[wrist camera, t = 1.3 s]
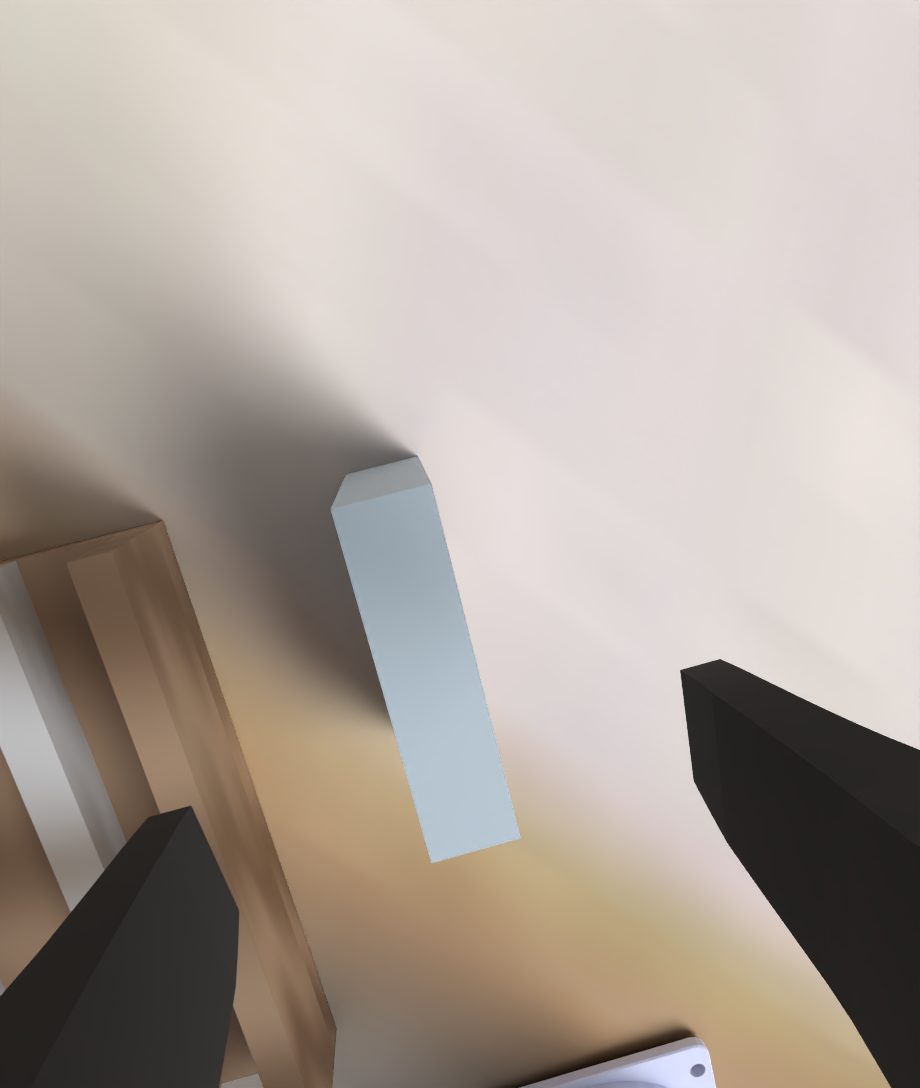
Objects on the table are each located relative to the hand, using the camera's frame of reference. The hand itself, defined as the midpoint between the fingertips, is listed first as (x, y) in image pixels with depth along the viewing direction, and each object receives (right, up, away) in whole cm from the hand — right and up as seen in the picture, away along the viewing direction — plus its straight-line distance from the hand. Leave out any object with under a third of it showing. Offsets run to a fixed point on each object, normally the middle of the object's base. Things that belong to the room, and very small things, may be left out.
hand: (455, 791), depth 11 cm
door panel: (-1, +2, +10) cm, 11 cm away
